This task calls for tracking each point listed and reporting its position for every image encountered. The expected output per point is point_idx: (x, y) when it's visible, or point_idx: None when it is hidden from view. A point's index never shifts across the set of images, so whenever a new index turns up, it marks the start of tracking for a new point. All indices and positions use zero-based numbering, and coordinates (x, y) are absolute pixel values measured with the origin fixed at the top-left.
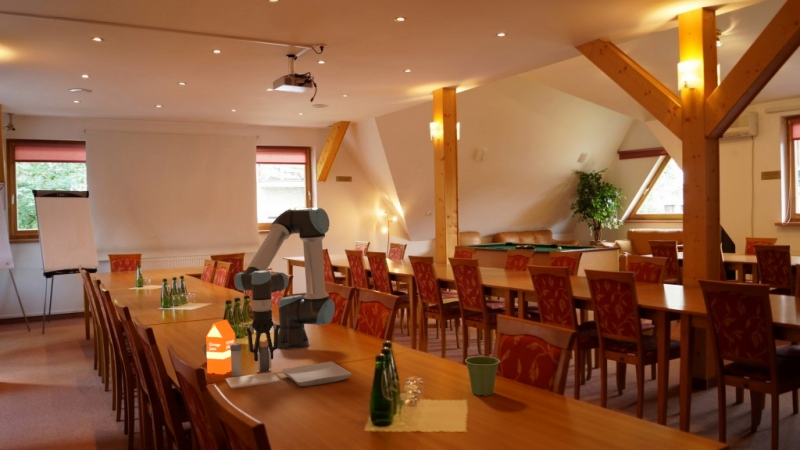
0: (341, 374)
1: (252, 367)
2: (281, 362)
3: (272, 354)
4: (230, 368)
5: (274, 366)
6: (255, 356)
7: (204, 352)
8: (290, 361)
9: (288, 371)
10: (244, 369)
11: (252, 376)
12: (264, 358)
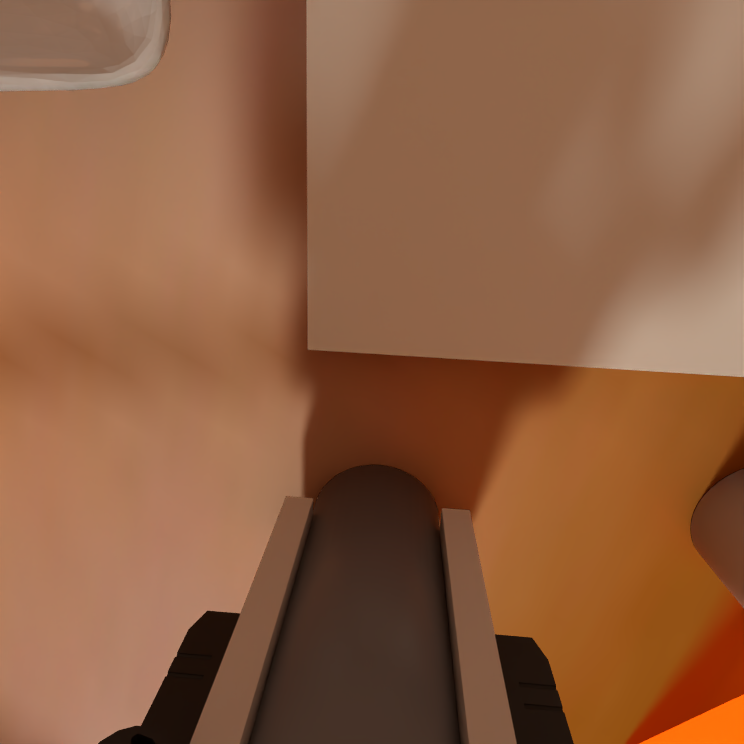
0: None
1: None
2: (121, 719)
3: (172, 698)
4: (738, 741)
5: None
6: (554, 736)
7: None
8: (26, 706)
9: (46, 40)
10: None
11: (663, 264)
12: (372, 622)
